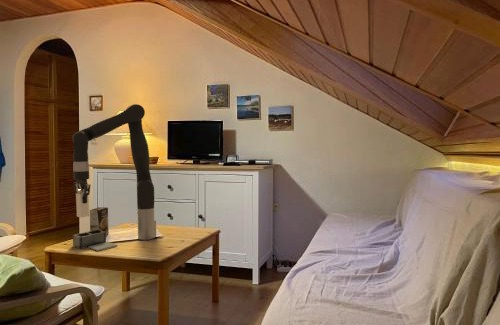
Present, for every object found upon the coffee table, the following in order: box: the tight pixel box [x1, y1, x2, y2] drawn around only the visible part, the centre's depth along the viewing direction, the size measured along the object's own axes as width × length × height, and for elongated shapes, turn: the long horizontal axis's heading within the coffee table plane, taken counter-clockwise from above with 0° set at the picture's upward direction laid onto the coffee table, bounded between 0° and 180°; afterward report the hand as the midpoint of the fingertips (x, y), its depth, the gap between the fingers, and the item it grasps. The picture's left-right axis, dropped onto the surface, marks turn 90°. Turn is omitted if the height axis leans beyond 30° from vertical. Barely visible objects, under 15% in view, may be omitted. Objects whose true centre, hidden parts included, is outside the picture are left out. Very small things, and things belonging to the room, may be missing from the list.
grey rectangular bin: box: [72, 230, 107, 250], centre depth 203 cm, size 14×8×6 cm, turn 140°
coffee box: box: [89, 206, 109, 236], centre depth 220 cm, size 9×6×16 cm
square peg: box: [75, 193, 90, 219], centre depth 199 cm, size 4×4×12 cm
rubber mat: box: [88, 241, 118, 252], centre depth 199 cm, size 11×9×1 cm
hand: (82, 202), depth 199 cm, fingers closed on square peg, 4 cm apart
